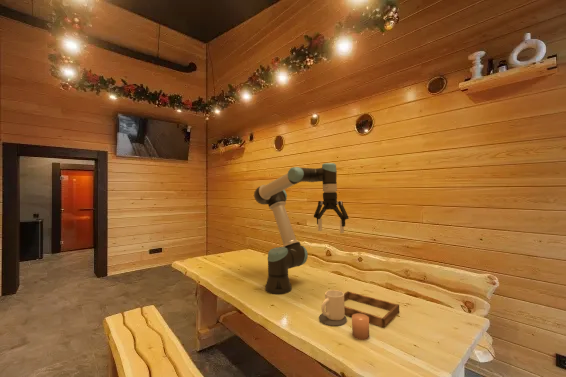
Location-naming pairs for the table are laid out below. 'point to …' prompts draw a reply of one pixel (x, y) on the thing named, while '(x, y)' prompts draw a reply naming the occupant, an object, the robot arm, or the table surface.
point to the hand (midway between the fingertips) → (330, 231)
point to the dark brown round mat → (332, 321)
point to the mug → (334, 305)
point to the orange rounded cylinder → (360, 326)
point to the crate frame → (373, 302)
